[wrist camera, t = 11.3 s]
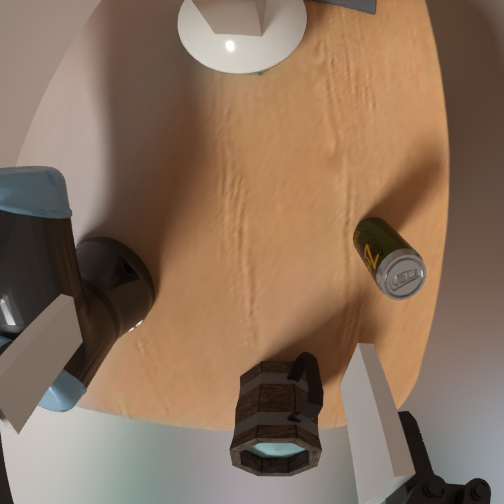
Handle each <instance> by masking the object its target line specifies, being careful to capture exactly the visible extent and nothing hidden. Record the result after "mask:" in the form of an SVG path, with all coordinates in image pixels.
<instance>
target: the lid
mask: <svg viewBox="0 0 504 504" xmlns="http://www.w3.org/2000/svg"><path fill="white" fill-rule="evenodd" d="M306 24H307V14H306V8H305V5H304V2H303V0H184V2H183V4H182V6H181V8H180V11H179V15H178V32H179V36H180V39H181V41H182V43H183V45H184V47H185V48H186V50H187V51H188V52H189V53H190V54H191V55H192V56H193V57H194V58H195V59H196V60H197V61H199V62H200V63H202V64H203V65H205V66H207V67H209V68H210V69H213V70H216V71H218V72H222V73H227V74H237V75H244V74H253V73H258V72H262V71H265V70H268V69H270V68H272V67H275V66H276V65H278V64H280V63H282V62H283V61H284V60H286V59H287V58H288V57H289V56H290V55H291V54H292V53H293V52H294V51H295V50H296V48H297V47H298V46H299V44H300V42H301V40H302V38H303V35H304V32H305V29H306Z"/></svg>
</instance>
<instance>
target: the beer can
mask: <svg viewBox="0 0 504 504" xmlns="http://www.w3.org/2000/svg"><path fill="white" fill-rule="evenodd" d="M353 242H354V246H355V248H356V250H357V252H358V254H359V255H360V257H361V258H362V260H363V262H364V263H365V265H366V267H367V269H368V270H369V272H370V274H371V275H372V277H373V279H374V280H375V282H376V284H377V286H378V287H379V289H380V290H381V291H382V292H383V293H384V294H385V295H387V296H388V297H389V298H391V299H394V300H404V299H408V298H410V297H412V296H413V295H415V294H416V293H417V292H418V291H419V290H420V289H421V287H422V285H423V284H424V281H425V278H426V268H425V265H424V263H423V260H422V257H421V256H420V255H419V254H418V253H417V252H416V251H415V250H414V249H413V248H412V247H411V246H410V245H409V244H408V243H407V242H406V241H405V240H404V239H403V238H402V237H401V236H400V235H399V234H398V233H397V232H396V231H395V230H394V229H393V228H392V227H391V226H390V225H389V224H388V223H387V222H386V221H384V220H382V219H380V218H369V219H366V220H364V221H363V222H361V223H360V224H359V225H358V226H357V228H356V230H355V232H354V236H353Z"/></svg>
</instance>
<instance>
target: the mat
mask: <svg viewBox="0 0 504 504" xmlns="http://www.w3.org/2000/svg"><path fill="white" fill-rule="evenodd" d="M313 1H319V2H324V3H329V4H334V5H338V6H343V7H347V8H351V9H355V10H359V11H363V12H366V13H370V14H373V15H374V14H375V5H376V0H313Z"/></svg>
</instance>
